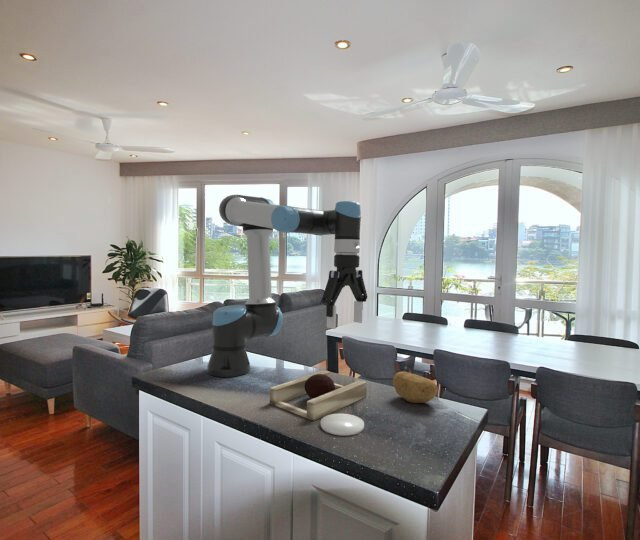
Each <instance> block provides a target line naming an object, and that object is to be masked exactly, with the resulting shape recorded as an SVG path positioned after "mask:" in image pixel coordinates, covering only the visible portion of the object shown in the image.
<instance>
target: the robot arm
mask: <svg viewBox="0 0 640 540" xmlns="http://www.w3.org/2000/svg"><path fill="white" fill-rule="evenodd" d="M218 211H219V212H218V213H219V216H220V218H221V219H222V220H223V221H224V222H225V223H226V224H228V225H231V226H235V227H242V233H243V234H244V235H245V237H246V243H247V244H246V246H247V247H246V249H247V269H248V270H247V273H248V274H247V276H248V299H247V301H246V302H245V304H244V305H243V304H234V305H226V306H220V307H218V308H216V309H215V310H214V311H213V315H212V322H211V324H212V351H211V354H210V357H209V360H208V364H207V367H206V368H207V369H206V371H207V374H208V375H211V376H213V377H219V378H232V377H238V376H240V377H241V376H243V375H247V374H248V373H249V372H250V371H251V363H250V360H249V356H248V353H247V350H246V341H249V340H254V339H261V338H269V337H272V336H275V335H277V334H278V333H279V332H280V330H281V329H282V325H283V321H284V318H283V313H282V309H280V307H279V306H277V304H276V303H277V301H275V299H274V298H273V297H272V273H271V271H272V270H271V248H270V245H271V244H270V236H271V235H272V234H273V232H274V231H277V232H281V233H284V234H285V233H286V234H287V233H288V234H289V233H292V234H293V233H294V234H309V235H314V236H321V237H322V236H325V235H327V236H328V235H329V236H331V235H334V241H333V242H334V244H333V246H334V247H333V248H334V249H333V250H334V251H333V252H334V253H335V254H334V256H333V266H334V267H335V268H336V270H329V272H328V279H327V283H326V285H325V289H324V291H323V294H322V298H321V301H320V302H321V304H322V305H324V306H325V308H326V313H325V314H326V328H327V329H333V330H336V327H337V305H335V304H336V302H337V300H338V298H339V296H340V294H341V292H342V290H343V289H344V288H345V287H349V289H350V291H351V293H352V295H353V297H354V299H355V300H354V301H353V323H358V324H362V323H363V309H364V303H365V302H367V300H368V293H367V289H366V285H365V281H364V278H363V270H361V269H359V267H360V255H358V254H360V249H361V248H360V246H361V245H360V243H361V240H360V239H361V221H362V220H361V219H362V215H361V203H359V202H357V201H353V200H352V201H351V200H341V201H337V202H336V203H335V207H334V209H332V210H320V209H313V208H305V207H299V206H291V205H282V204H281V205H279V204H276V203H275V202H274V201H273V200H271V199H269V198H265V197H258V196H250V195H242V194H231V195H227V196H226V197H225V198H223V199H222V200H221V202H220V203H219V207H218ZM357 268H358V269H357Z"/></svg>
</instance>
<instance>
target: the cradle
mask: <svg viewBox="0 0 640 540" xmlns="http://www.w3.org/2000/svg"><path fill="white" fill-rule="evenodd" d="M315 374H324V375H327V376H328V377H330V378H331V371H328V370H325V369H324V370H320V371H317V372H314V373H312V374H309V375H305V376H302V377H300V378H297V379H294V380H290V381H288V382H287V381H286V382H284V383H281V384H278V385H274V386H272V387H269V404H270V405H273V406H275V407H278V408H280V409H283V410H286V411H288V412H291V413H293V414H296V415H297V416H301V417H303V418H305V419H308V420H310V421H313V422H315V421H317V420H319V419H322V418H323V417H325V416H327V415H331V414H333V412H337V411H338V410H341V409H343V408H344V407H347V406H350V405H351V404H353V403H356V402H358V401H360V400H363V399H364V398H367V392H368V391H367V389H368V388H367V387H368V385H367V383H368V382H367V381H364V380H357V381H354V382H352V383H350V384H346V385H341V384H338V383H336V382H335V383H334V385H335V390H334V391H332V392H329V393H327V394H324V395H321V396H319V397H316V398H314V399H311V398H310V399H309V400H306V410H305V409H303V408H300V407H297V406H295V405H292V404H289V403H286V402H289V401H291V400H295V399H297V398H300V397H302V396H305V395H307V393H306V391H305V382H306V381H307V379H308V378H310V377H311V376H313V375H315Z"/></svg>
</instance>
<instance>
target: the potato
mask: <svg viewBox="0 0 640 540" xmlns="http://www.w3.org/2000/svg"><path fill="white" fill-rule="evenodd" d="M392 377H393V378H392V385H393V387H394V388H395V392H396V393H397V394H398V396H400V397H401V398H403V399H404V400H405V401H407V402H409V403H411V404H413V403H414V404H415V403H416V404H418V403H422V404H423V403H424V404H426V403H428V402H429V401H431V400H433V399H435V397H437V395H438V393H439V387H438V385H437V384H436V383H435V382H434V381H433V380H431V379H429V378H426V377H425V376H421V375H419V374H416V373H412V372H408V371H399V372H397V373H395V374H394V375H393V376H392Z"/></svg>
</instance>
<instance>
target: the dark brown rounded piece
mask: <svg viewBox="0 0 640 540" xmlns="http://www.w3.org/2000/svg"><path fill="white" fill-rule="evenodd" d="M334 382H335V381H334V380H333V379H332V377H331V376H330V377H328V376H327V375H324V374H315V375H313V376H311V377H310V378H308V379H307V381H306V382H305V391H306V393H307V394H306V395H307V396H308V397H309V398H310V400H311V399H314V398H316V397H319V396H321V395H324V394H327V393H329V392H332V391H334V390H336V389H335V385H334Z"/></svg>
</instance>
